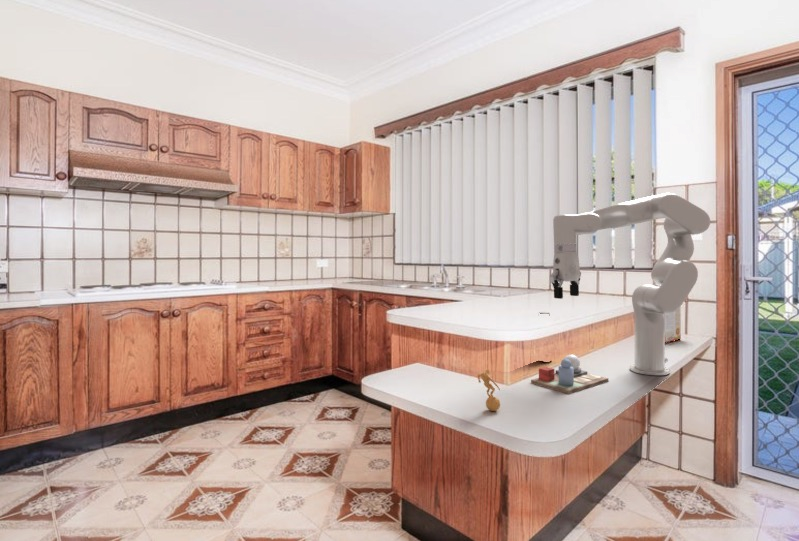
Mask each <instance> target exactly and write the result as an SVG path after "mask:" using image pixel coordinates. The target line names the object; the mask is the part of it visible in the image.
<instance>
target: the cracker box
mask: <svg viewBox="0 0 799 541" xmlns="http://www.w3.org/2000/svg"><path fill="white" fill-rule="evenodd" d="M681 308H682V305H681V306H680V308H679V309H678V310H677V311H675V312H674V313H671V314H663V317H664V321H665V342H669V343H671V342H670V341H673V342H675V341H674V340H678V339H681V340H682V337H681V336H682V335H681V333H682V331H681V330H682V328H681V327H682V326H681V324H682V322H681V321H682V320H681V319H682V318H681V317H682V313H681ZM678 341H679V340H678Z"/></svg>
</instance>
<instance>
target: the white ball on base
mask: <svg viewBox="0 0 799 541" xmlns="http://www.w3.org/2000/svg"><path fill="white" fill-rule="evenodd" d="M564 359H568V360H570V361H571V367H573V368H574V373H579V372H581V370H582V367H580V365H581V363H580V362H581V361H580V359H579V357H578V356H576V355H575V354H568V355H565V356H564V357H563V359H562V360H564Z"/></svg>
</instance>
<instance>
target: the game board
mask: <svg viewBox="0 0 799 541" xmlns="http://www.w3.org/2000/svg"><path fill="white" fill-rule="evenodd" d="M558 382H559V369H556V370H555V368H554V367H553V368H552V367H549V366H543V367H539V368H538V377H537V378H533V379H531V380H530V383H531V384H533V385H534V384H535V385H537V386H541V387H544V388H546V389H550V390H554V391H557V392H560V393H564V394H567V395H571V394H573V393H576V392H579V391H583V390H586V389H589V388H592V387H594V386H597V385H601V384H604V383H607V382H609V378H608V377H605V376H600V375H596V374H592V373H588V371H587V370H583V369H581V372H579V373H574V385H573V386H563V385H560V384H559V383H558Z"/></svg>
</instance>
